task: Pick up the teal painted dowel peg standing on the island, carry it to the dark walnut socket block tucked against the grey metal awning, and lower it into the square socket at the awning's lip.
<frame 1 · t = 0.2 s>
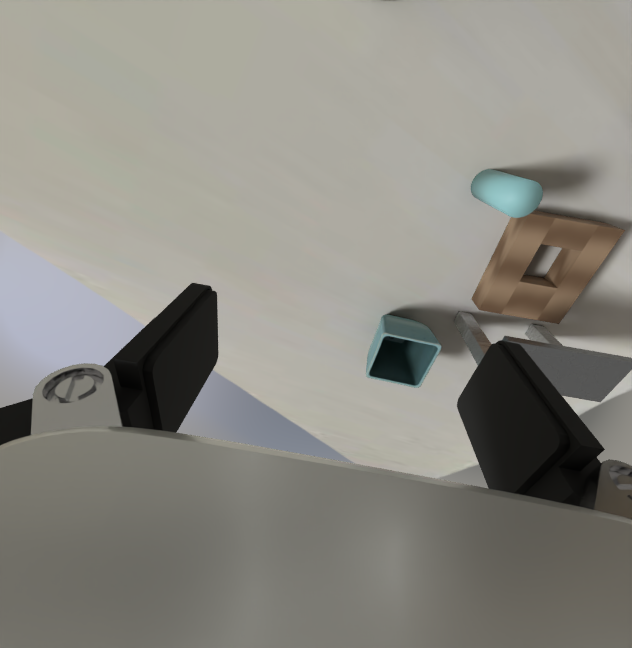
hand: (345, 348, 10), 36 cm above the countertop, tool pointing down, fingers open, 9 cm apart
flower pot: (394, 328, 52), on the countertop
socket: (532, 264, 44), on the countertop
awning: (499, 321, 49), on the countertop
peg: (485, 184, 39), on the countertop
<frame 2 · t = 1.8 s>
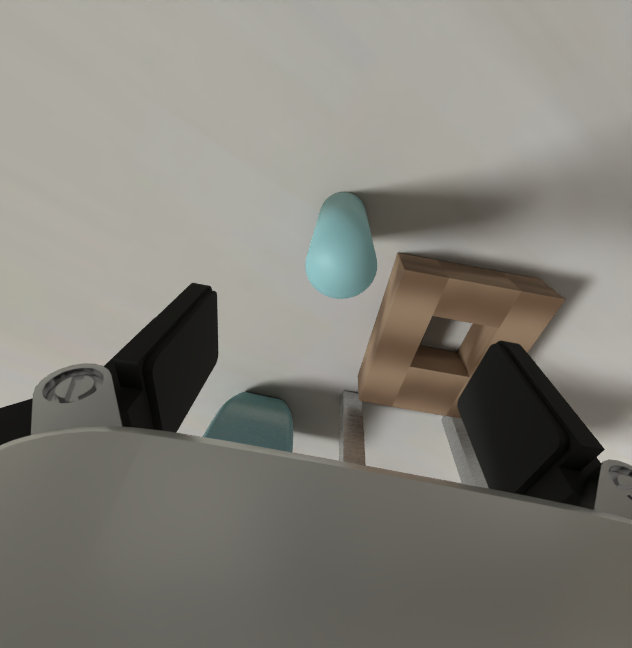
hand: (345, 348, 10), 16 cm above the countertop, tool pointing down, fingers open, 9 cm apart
flower pot: (262, 407, 37), on the countertop
socket: (436, 333, 29), on the countertop
awning: (403, 404, 34), on the countertop
peg: (342, 216, 24), on the countertop
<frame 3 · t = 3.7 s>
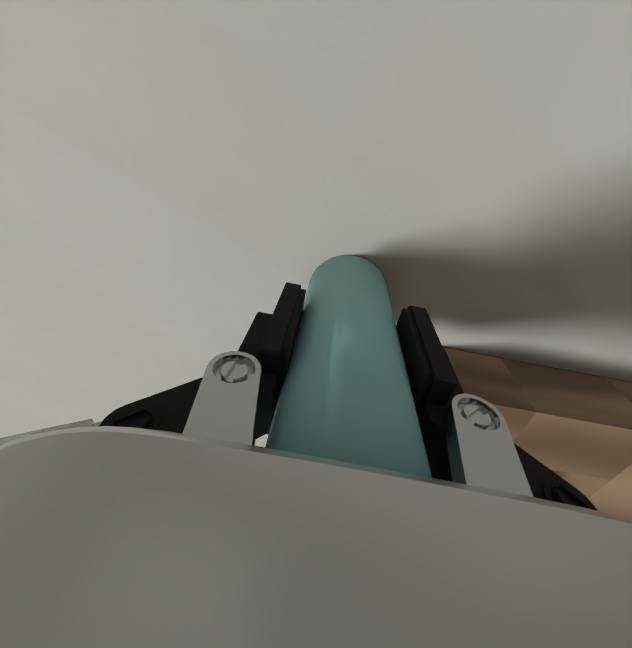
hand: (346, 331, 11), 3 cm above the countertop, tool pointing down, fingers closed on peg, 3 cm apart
socket: (488, 450, 19), on the countertop
peg: (346, 292, 14), on the countertop, touching gripper
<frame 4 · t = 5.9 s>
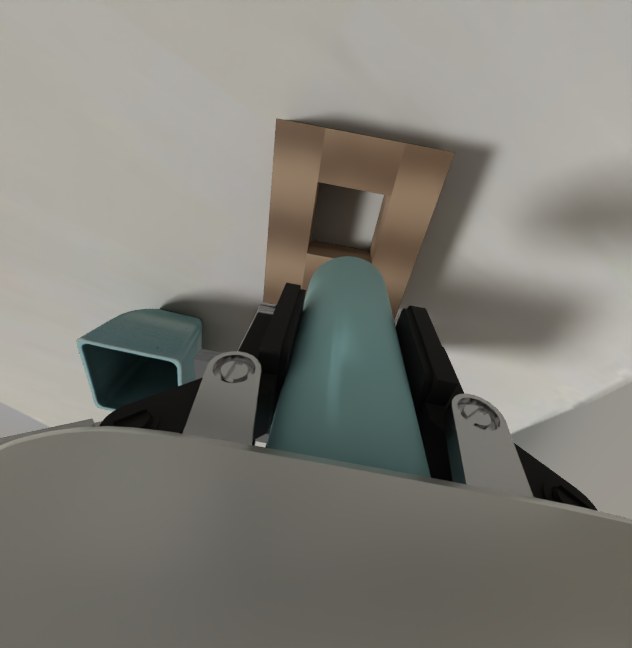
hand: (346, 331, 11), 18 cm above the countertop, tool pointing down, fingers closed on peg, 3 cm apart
flower pot: (181, 330, 35), on the countertop
socket: (344, 227, 27), on the countertop
awning: (324, 320, 32), on the countertop
peg: (346, 293, 14), point 15 cm above the countertop, touching gripper
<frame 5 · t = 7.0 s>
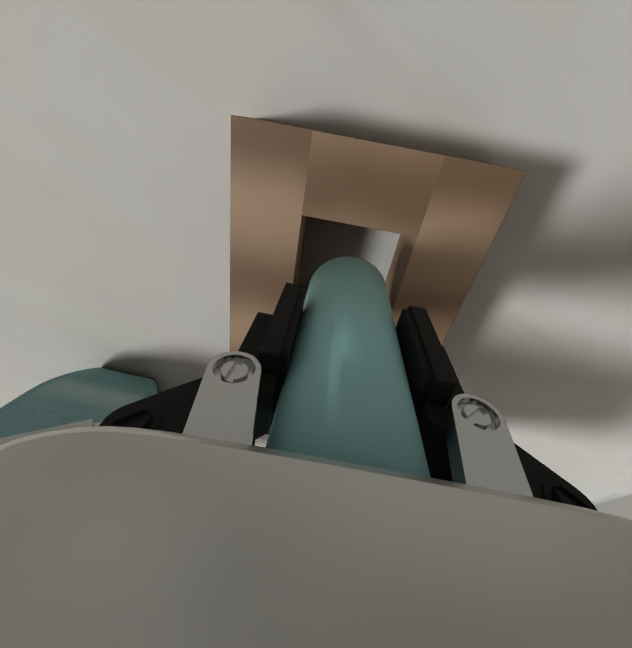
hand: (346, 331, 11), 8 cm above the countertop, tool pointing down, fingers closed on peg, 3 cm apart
flower pot: (133, 391, 27), on the countertop
socket: (344, 270, 19), on the countertop
peg: (346, 293, 14), point 5 cm above the countertop, touching gripper
when the fingers open (4 cm above the countertop, at t = 8.1 s): peg stays where it is, resting in socket.
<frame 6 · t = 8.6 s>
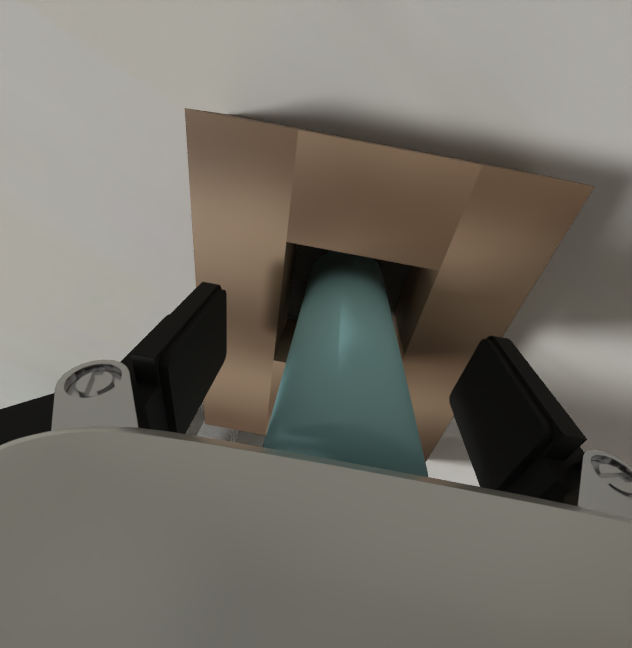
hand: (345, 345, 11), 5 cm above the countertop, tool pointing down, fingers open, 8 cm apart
socket: (342, 301, 15), on the countertop
awning: (312, 426, 21), on the countertop
peg: (345, 283, 15), resting in socket
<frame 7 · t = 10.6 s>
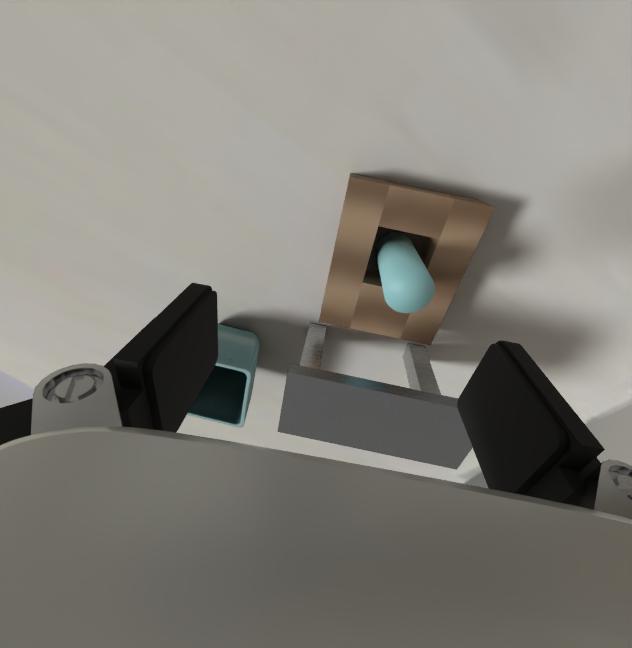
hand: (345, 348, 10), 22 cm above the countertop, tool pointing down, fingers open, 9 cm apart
flower pot: (235, 342, 39), on the countertop
socket: (391, 259, 31), on the countertop
awning: (366, 338, 36), on the countertop
peg: (393, 250, 31), resting in socket
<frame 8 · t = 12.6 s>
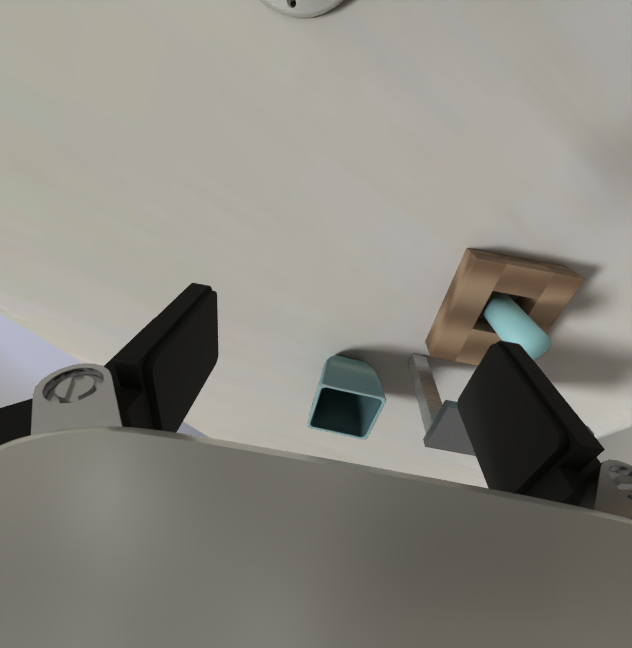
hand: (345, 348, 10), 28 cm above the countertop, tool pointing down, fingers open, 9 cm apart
flower pot: (345, 369, 48), on the countertop
socket: (488, 307, 40), on the countertop
awning: (457, 364, 45), on the countertop
peg: (491, 300, 39), resting in socket
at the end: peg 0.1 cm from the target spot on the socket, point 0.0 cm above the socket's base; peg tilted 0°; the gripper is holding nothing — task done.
